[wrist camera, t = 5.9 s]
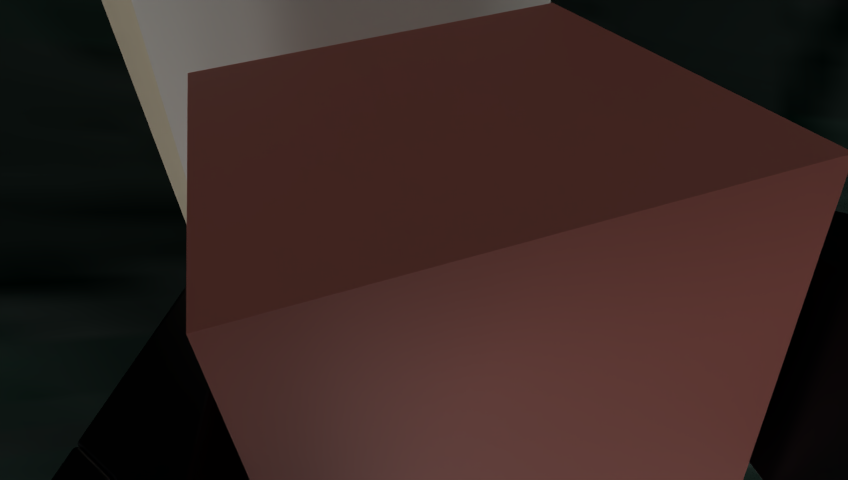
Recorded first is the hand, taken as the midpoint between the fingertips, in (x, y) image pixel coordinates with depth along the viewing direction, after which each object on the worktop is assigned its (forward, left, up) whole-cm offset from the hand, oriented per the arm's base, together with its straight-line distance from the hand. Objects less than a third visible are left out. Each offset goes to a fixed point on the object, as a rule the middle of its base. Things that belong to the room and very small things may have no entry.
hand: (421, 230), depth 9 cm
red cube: (0, 0, -1) cm, 1 cm away
